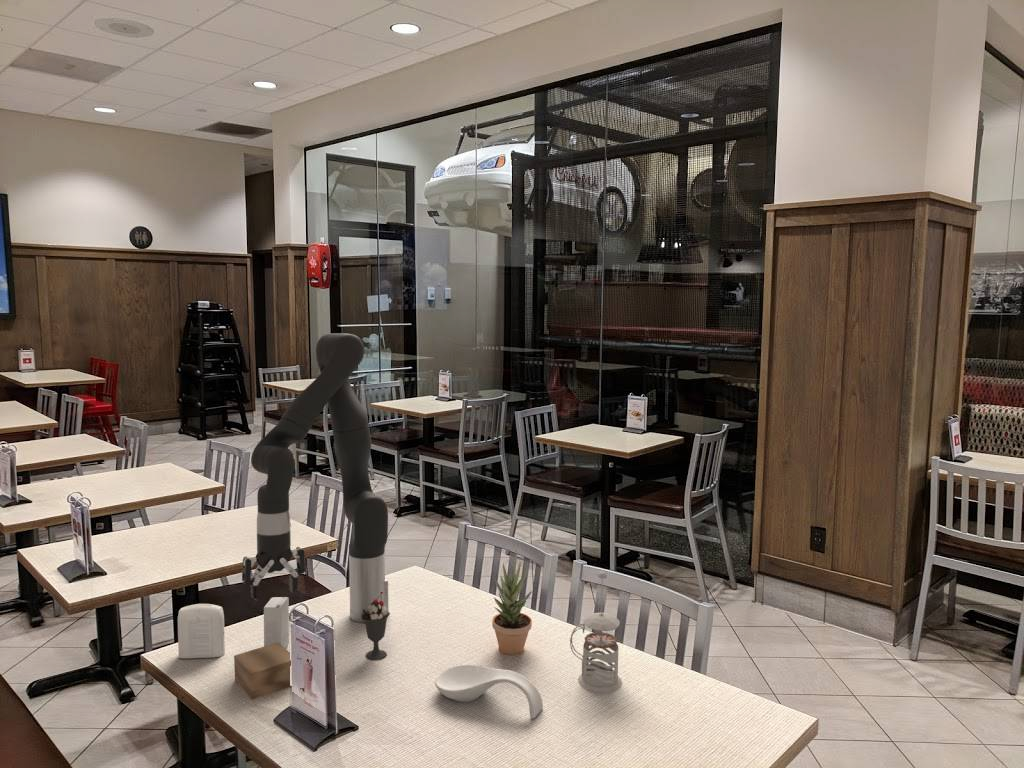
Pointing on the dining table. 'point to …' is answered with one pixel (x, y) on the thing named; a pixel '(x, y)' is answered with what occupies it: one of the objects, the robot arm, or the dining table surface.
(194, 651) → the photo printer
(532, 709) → the spoon rest
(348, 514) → the robot arm
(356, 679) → the dining table surface
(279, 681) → the walnut block
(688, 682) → the dining table surface
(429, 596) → the dining table surface
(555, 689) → the dining table surface
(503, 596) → the potted plant
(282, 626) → the skincare box
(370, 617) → the sundae
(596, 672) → the french press
